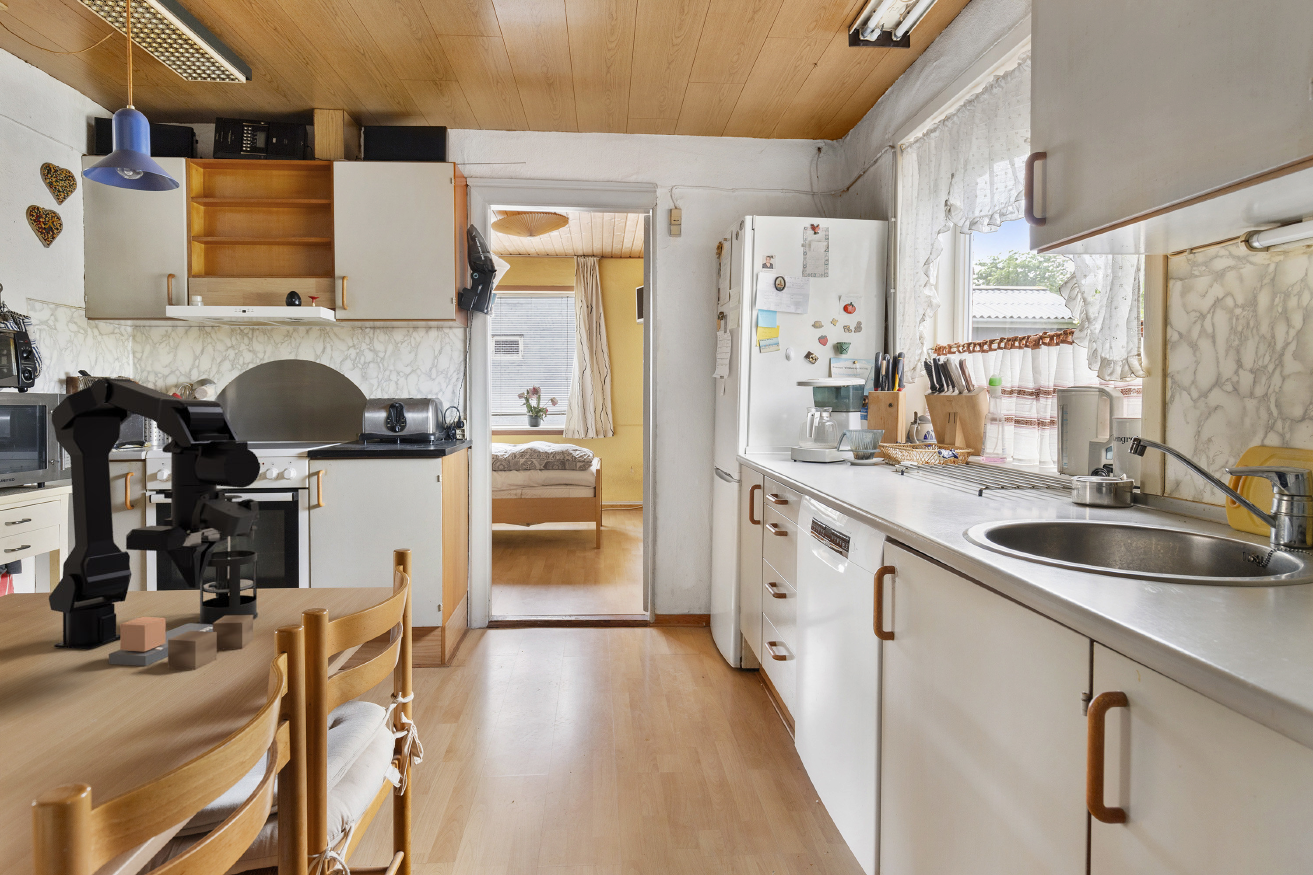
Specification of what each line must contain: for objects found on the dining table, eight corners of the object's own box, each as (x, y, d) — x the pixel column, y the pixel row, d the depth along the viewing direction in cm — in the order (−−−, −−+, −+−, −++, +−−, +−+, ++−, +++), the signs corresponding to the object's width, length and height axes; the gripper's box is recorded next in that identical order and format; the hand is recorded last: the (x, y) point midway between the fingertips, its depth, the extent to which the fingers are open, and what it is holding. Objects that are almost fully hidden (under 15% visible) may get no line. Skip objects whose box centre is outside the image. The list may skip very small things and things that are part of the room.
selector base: (108, 663, 107) (108, 652, 107) (188, 631, 123) (188, 621, 123) (145, 665, 107) (145, 654, 106) (220, 633, 122) (220, 623, 122)
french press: (265, 620, 130) (265, 496, 130) (205, 630, 124) (205, 499, 123) (248, 607, 139) (248, 490, 138) (191, 615, 132) (192, 493, 132)
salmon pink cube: (120, 650, 108) (120, 624, 108) (141, 641, 112) (141, 616, 112) (144, 651, 108) (144, 625, 107) (165, 643, 112) (165, 617, 111)
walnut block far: (212, 650, 114) (212, 623, 114) (224, 641, 119) (224, 615, 119) (242, 649, 115) (242, 622, 115) (253, 640, 119) (253, 614, 119)
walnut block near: (168, 668, 106) (168, 639, 106) (190, 658, 110) (190, 630, 110) (195, 670, 106) (195, 641, 105) (216, 660, 110) (216, 632, 110)
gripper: (198, 492, 96) (198, 606, 96) (283, 480, 115) (283, 575, 115) (122, 489, 97) (122, 602, 98) (219, 477, 116) (218, 572, 116)
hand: (194, 587), depth 107 cm, fingers closed
